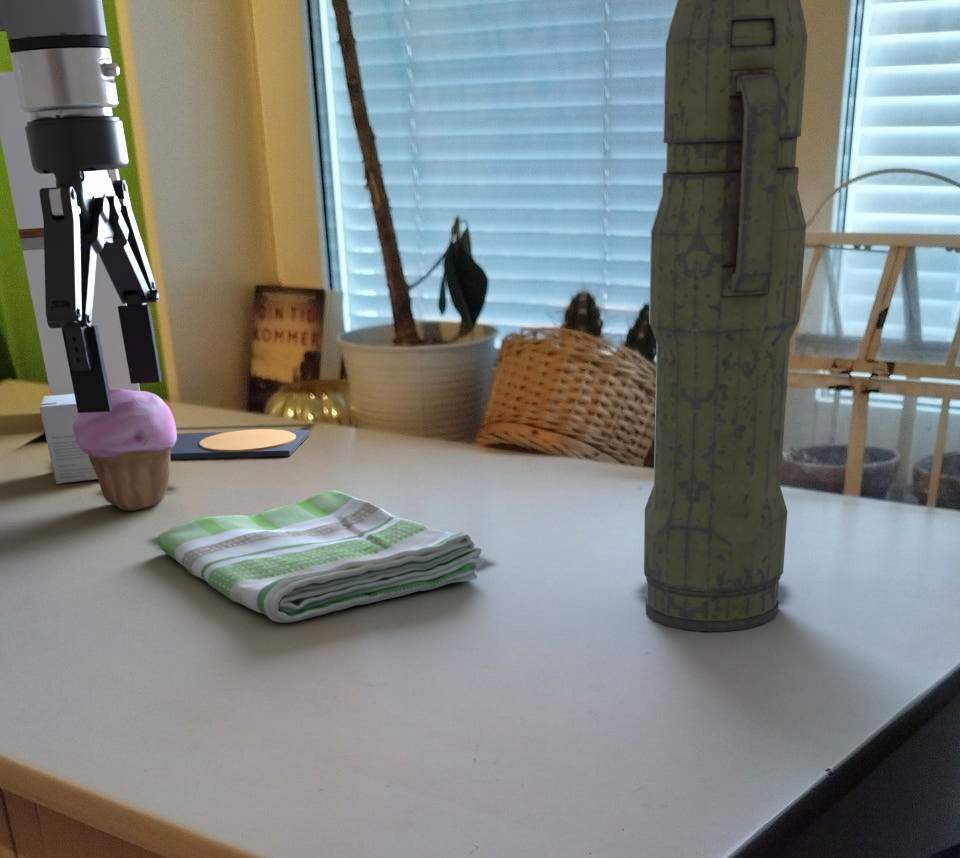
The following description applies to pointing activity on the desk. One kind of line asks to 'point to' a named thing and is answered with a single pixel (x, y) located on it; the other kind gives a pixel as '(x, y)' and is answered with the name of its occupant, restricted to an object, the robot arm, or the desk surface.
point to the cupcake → (129, 448)
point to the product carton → (64, 440)
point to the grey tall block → (9, 123)
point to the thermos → (724, 311)
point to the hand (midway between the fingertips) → (122, 396)
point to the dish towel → (319, 556)
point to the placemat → (237, 444)
